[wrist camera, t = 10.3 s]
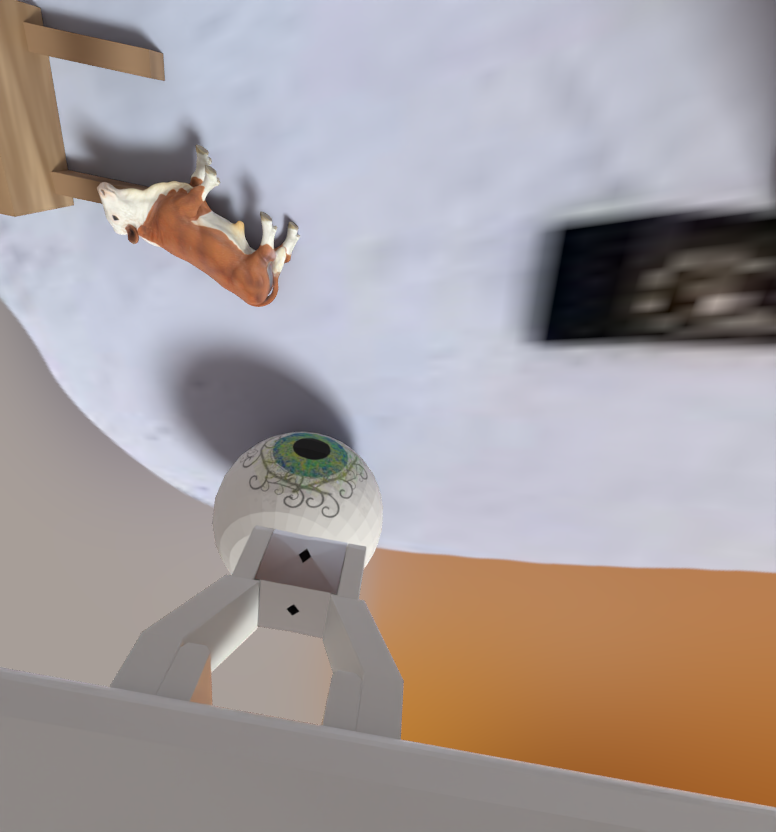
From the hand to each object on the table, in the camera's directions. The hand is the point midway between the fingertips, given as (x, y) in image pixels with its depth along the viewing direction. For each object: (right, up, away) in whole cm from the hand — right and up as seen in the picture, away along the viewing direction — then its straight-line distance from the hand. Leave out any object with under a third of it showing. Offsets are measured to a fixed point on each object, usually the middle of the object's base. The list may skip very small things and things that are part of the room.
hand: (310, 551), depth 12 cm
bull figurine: (-8, +20, +20) cm, 29 cm away
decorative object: (-5, -1, +36) cm, 36 cm away
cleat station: (-18, +25, +21) cm, 37 cm away
